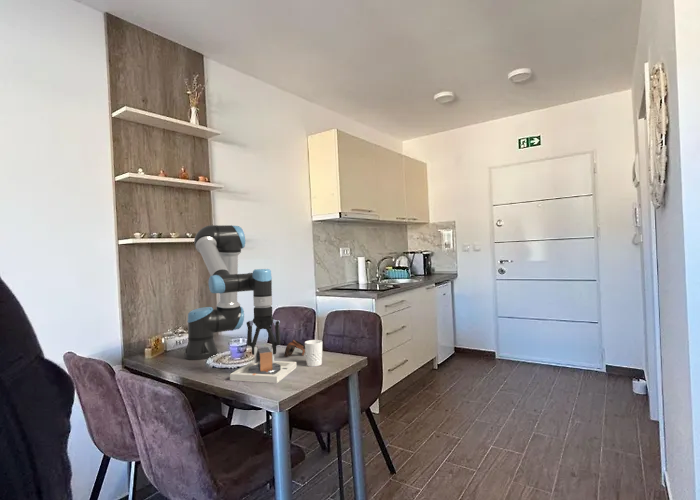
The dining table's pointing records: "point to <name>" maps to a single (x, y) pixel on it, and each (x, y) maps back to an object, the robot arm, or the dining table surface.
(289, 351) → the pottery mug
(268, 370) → the dial
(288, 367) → the dial panel
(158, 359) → the dining table surface
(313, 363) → the white cup
